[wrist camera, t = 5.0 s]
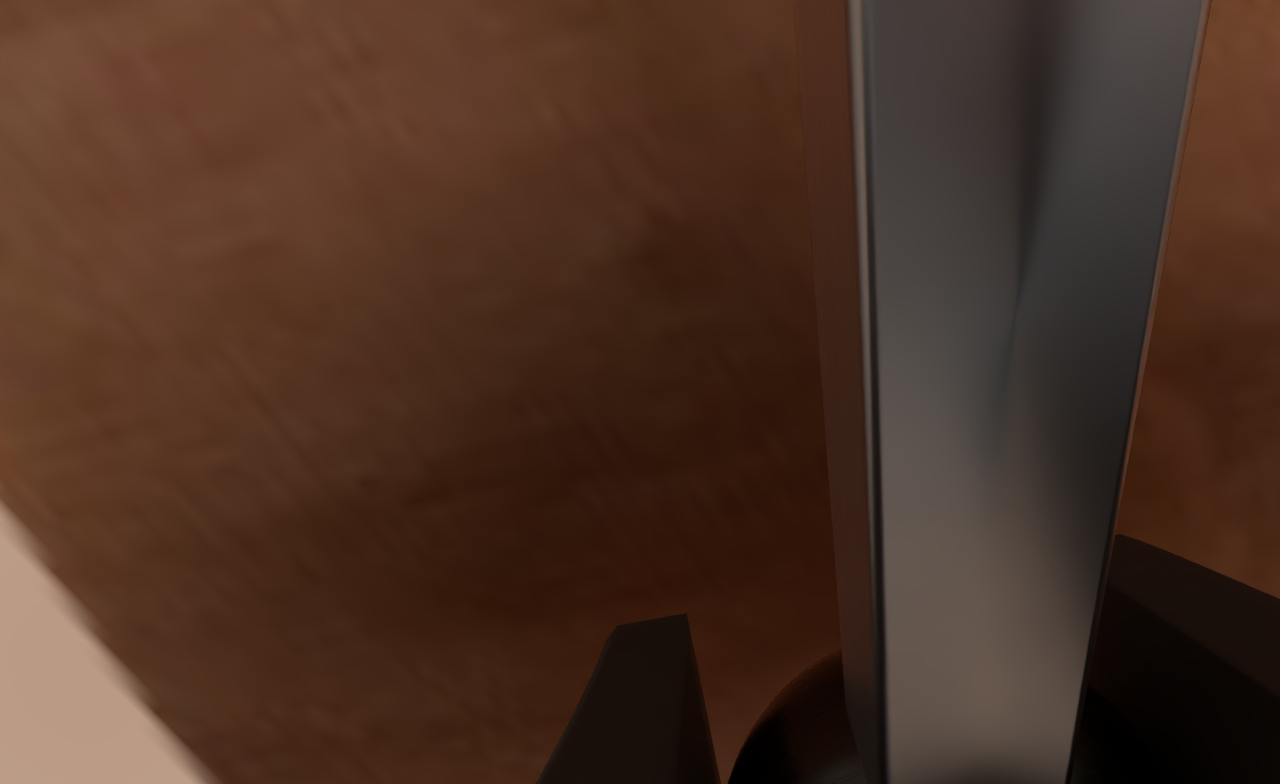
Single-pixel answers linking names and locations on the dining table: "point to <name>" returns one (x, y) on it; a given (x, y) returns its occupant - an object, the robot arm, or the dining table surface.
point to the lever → (979, 374)
